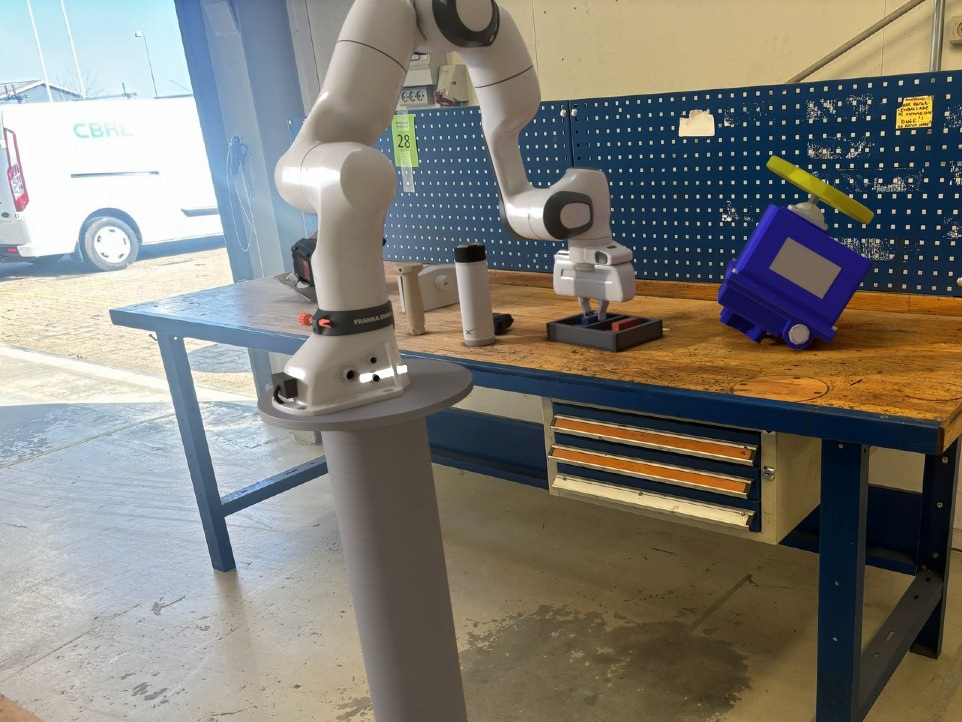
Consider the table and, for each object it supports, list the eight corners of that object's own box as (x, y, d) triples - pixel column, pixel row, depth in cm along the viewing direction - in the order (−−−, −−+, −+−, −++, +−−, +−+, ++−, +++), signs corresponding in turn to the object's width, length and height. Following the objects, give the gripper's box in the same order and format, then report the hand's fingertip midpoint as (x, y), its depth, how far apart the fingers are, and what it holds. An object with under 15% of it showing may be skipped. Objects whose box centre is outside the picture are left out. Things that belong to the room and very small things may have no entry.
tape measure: (502, 336, 178) (500, 319, 177) (472, 336, 180) (470, 318, 179) (515, 329, 184) (513, 312, 183) (486, 328, 186) (484, 311, 185)
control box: (687, 306, 154) (776, 152, 144) (693, 287, 179) (769, 155, 169) (809, 376, 155) (907, 228, 145) (798, 348, 180) (880, 220, 170)
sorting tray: (616, 352, 161) (615, 334, 160) (547, 339, 173) (545, 322, 172) (663, 336, 170) (662, 319, 169) (594, 325, 183) (593, 309, 181)
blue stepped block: (598, 325, 179) (597, 311, 178) (612, 327, 177) (611, 313, 175) (564, 335, 173) (563, 320, 172) (578, 337, 170) (577, 323, 169)
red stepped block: (628, 330, 173) (627, 316, 172) (643, 333, 170) (642, 318, 169) (594, 341, 166) (593, 326, 165) (609, 344, 164) (608, 328, 163)
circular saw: (252, 292, 225) (274, 207, 213) (340, 269, 256) (363, 193, 243) (313, 333, 222) (338, 249, 210) (393, 305, 253) (420, 230, 240)
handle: (420, 337, 182) (410, 266, 176) (399, 334, 185) (389, 265, 180) (436, 332, 185) (427, 263, 180) (415, 329, 189) (406, 261, 184)
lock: (422, 315, 203) (417, 273, 200) (397, 312, 209) (391, 271, 205) (478, 300, 217) (473, 260, 213) (453, 297, 222) (448, 259, 219)
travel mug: (469, 348, 170) (457, 246, 163) (461, 341, 176) (449, 243, 169) (499, 343, 172) (488, 243, 165) (490, 337, 178) (480, 240, 171)
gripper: (543, 250, 175) (549, 317, 180) (617, 256, 161) (620, 328, 166) (565, 246, 179) (570, 311, 184) (639, 251, 166) (641, 321, 171)
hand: (594, 319), depth 175 cm, fingers closed on blue stepped block, 2 cm apart
